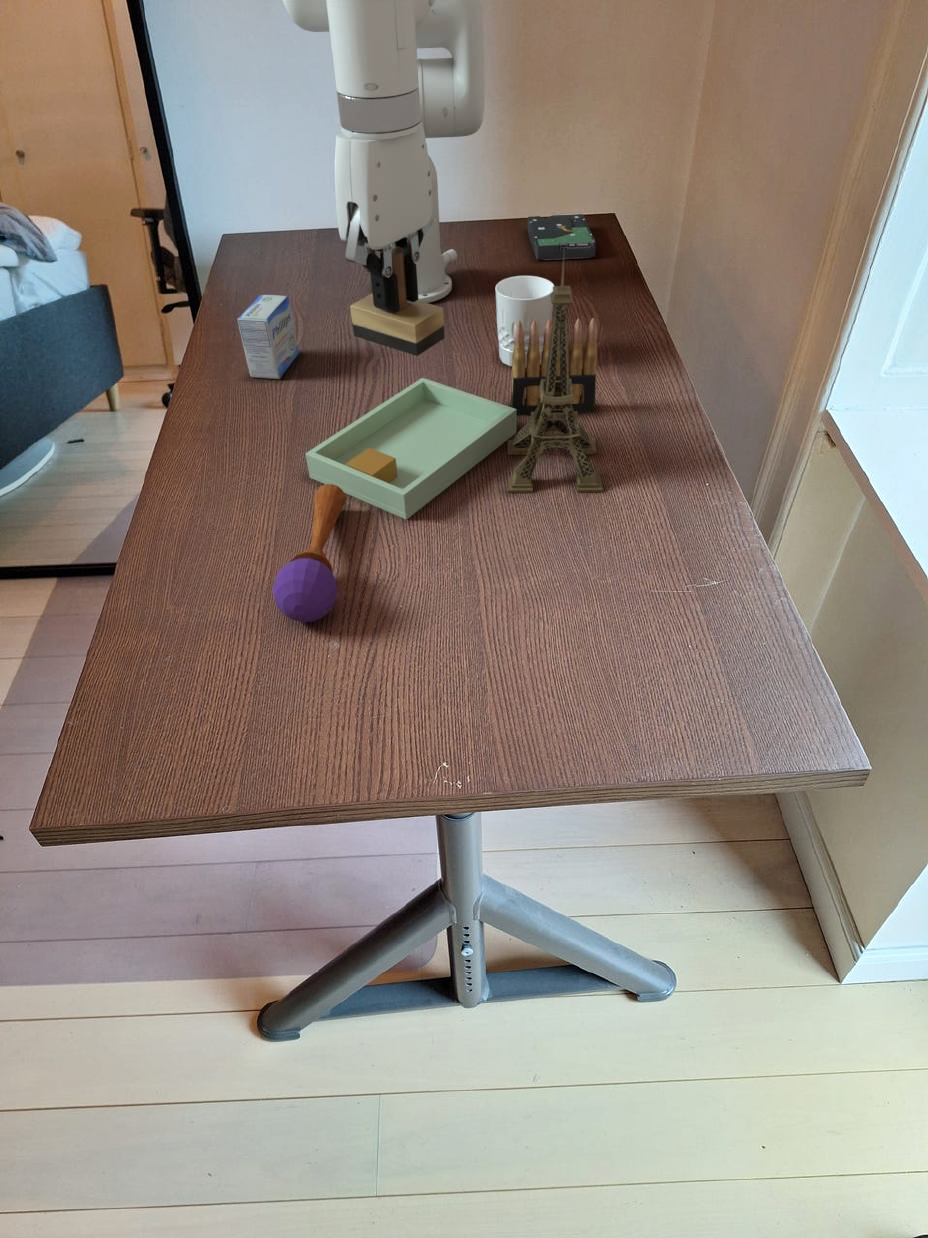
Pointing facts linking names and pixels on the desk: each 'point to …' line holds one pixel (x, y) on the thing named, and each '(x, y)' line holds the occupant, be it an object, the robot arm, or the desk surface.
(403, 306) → the brush
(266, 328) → the medicine box
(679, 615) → the desk surface
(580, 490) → the eiffel tower
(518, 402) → the ammunition clip
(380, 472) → the wooden block
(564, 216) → the disk drive
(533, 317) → the white cup
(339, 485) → the tray
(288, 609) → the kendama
